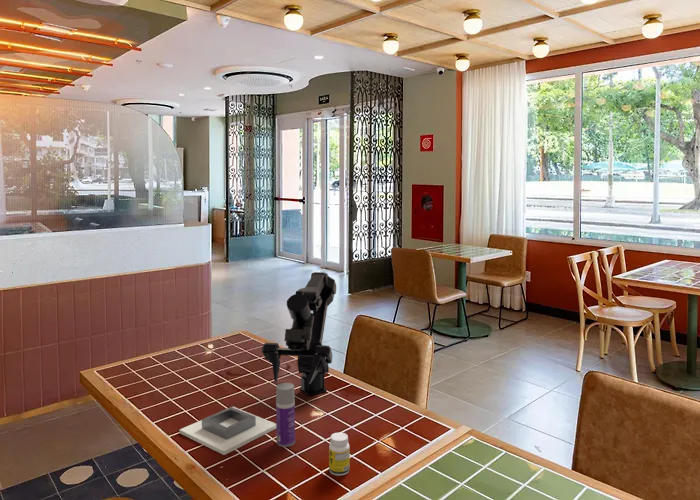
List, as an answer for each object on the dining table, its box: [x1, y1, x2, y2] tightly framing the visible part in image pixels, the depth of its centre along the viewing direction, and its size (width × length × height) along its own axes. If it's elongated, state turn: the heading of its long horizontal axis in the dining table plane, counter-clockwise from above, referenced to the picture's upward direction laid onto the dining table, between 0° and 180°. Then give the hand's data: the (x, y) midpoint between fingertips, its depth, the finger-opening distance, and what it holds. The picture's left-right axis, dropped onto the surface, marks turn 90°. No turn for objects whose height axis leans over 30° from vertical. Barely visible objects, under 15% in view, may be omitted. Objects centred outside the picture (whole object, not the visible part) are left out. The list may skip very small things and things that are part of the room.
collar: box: [201, 406, 256, 440], centre depth 142 cm, size 10×10×2 cm
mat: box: [179, 406, 276, 456], centre depth 142 cm, size 18×18×1 cm
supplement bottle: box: [328, 432, 351, 477], centre depth 123 cm, size 5×5×8 cm
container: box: [275, 382, 296, 448], centre depth 135 cm, size 5×5×15 cm
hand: (292, 382), depth 142 cm, fingers open, 9 cm apart
